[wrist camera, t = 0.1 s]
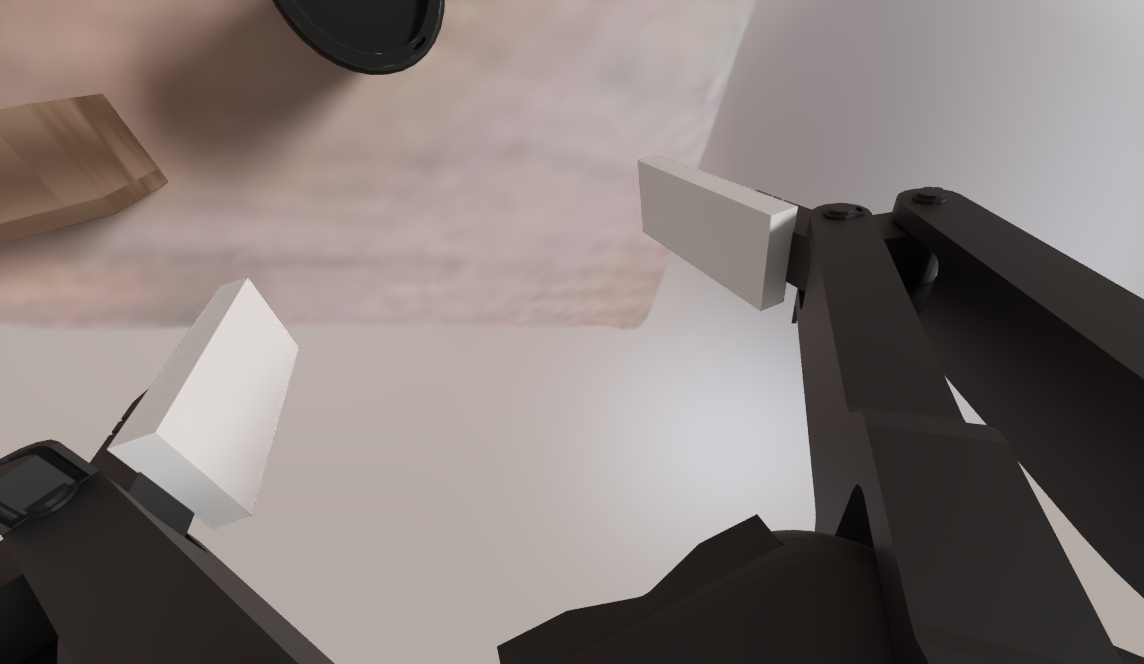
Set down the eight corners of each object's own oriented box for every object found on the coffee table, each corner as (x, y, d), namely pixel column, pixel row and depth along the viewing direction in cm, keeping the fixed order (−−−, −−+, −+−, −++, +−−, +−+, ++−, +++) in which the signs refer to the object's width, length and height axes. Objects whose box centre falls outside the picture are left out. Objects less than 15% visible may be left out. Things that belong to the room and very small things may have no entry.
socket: (-57, 128, 27) (-189, 150, 21) (102, 93, 29) (24, 104, 22) (31, 217, 31) (-59, 259, 24) (168, 182, 32) (117, 212, 26)
